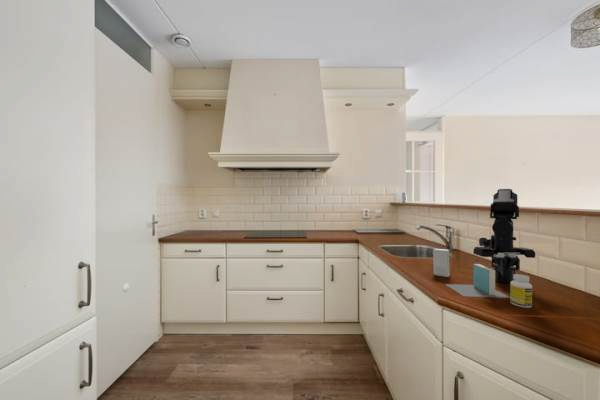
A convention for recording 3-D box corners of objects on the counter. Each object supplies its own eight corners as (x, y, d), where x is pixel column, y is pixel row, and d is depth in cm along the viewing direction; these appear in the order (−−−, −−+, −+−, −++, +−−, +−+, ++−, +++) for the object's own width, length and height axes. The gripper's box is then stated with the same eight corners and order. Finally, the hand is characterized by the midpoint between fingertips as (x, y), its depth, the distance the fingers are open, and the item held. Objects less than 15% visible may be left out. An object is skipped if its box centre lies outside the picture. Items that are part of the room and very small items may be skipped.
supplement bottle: (527, 310, 79) (527, 279, 79) (506, 303, 84) (507, 274, 84) (535, 306, 81) (535, 276, 81) (514, 300, 86) (514, 272, 86)
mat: (486, 286, 101) (486, 285, 101) (511, 298, 88) (511, 297, 88) (445, 285, 102) (445, 284, 102) (463, 297, 89) (463, 296, 89)
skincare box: (449, 275, 115) (449, 249, 115) (448, 278, 111) (448, 250, 111) (434, 273, 119) (434, 247, 119) (432, 275, 115) (432, 249, 115)
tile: (478, 286, 99) (479, 263, 99) (495, 295, 90) (495, 270, 90) (473, 286, 99) (473, 263, 99) (488, 295, 90) (488, 270, 90)
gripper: (512, 231, 102) (512, 269, 102) (465, 230, 103) (464, 268, 103) (536, 235, 91) (536, 278, 91) (483, 234, 92) (483, 276, 92)
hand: (503, 274), depth 94 cm, fingers closed
